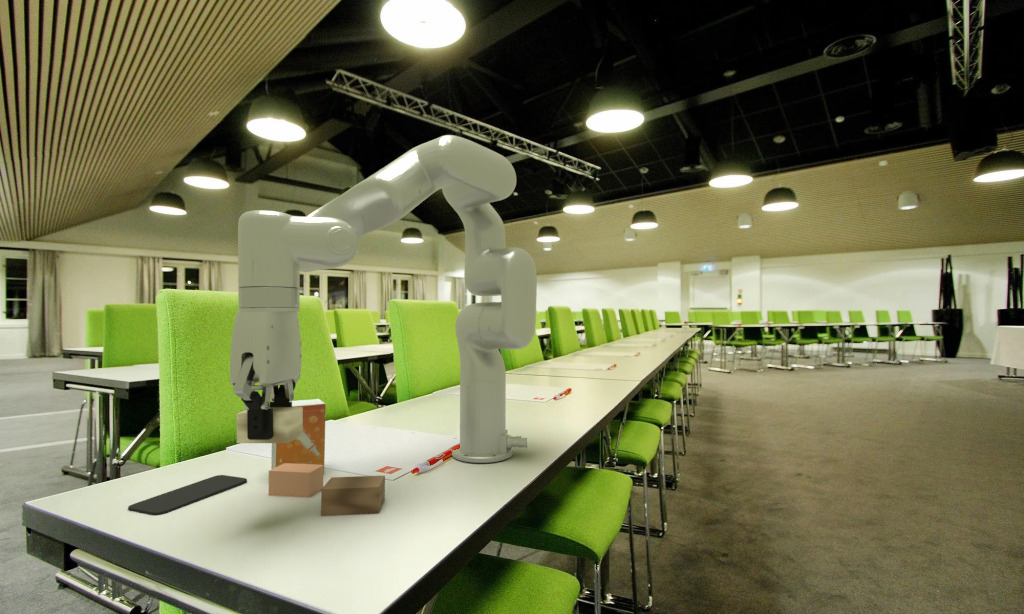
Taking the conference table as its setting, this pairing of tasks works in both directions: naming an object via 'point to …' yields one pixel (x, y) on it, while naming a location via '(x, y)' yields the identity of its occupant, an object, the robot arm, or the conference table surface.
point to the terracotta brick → (295, 480)
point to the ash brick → (275, 425)
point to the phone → (187, 495)
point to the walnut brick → (353, 495)
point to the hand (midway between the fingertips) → (270, 432)
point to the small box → (304, 438)
